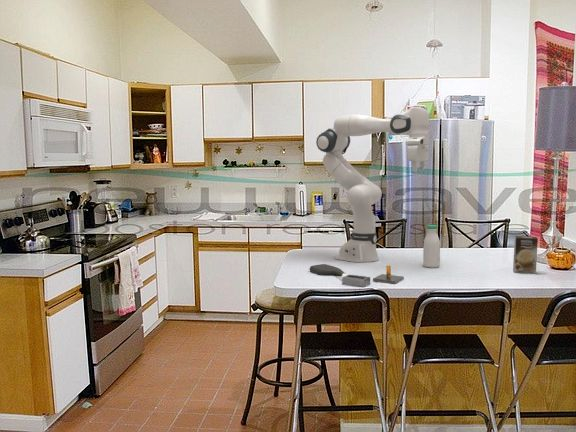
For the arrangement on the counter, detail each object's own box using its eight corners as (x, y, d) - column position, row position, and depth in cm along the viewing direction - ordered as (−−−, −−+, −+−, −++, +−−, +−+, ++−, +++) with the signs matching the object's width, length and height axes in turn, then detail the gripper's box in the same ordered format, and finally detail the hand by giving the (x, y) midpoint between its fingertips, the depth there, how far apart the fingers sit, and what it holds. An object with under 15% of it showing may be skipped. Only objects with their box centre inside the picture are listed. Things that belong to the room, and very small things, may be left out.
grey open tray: (342, 284, 215) (342, 277, 215) (348, 281, 220) (348, 274, 220) (364, 287, 210) (364, 279, 210) (370, 284, 215) (370, 276, 215)
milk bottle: (440, 268, 244) (441, 226, 242) (423, 267, 245) (424, 226, 243) (439, 265, 251) (439, 224, 249) (422, 264, 253) (423, 224, 251)
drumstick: (326, 269, 247) (359, 279, 226) (307, 272, 241) (339, 283, 220) (326, 263, 246) (359, 273, 226) (307, 266, 241) (339, 276, 220)
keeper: (372, 281, 220) (373, 265, 219) (382, 276, 228) (382, 261, 227) (395, 284, 214) (395, 268, 214) (403, 279, 223) (404, 263, 222)
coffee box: (514, 273, 232) (515, 237, 230) (512, 270, 238) (514, 235, 236) (536, 274, 229) (537, 238, 227) (534, 271, 235) (536, 236, 233)
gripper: (419, 141, 251) (418, 170, 252) (404, 140, 234) (404, 171, 235) (432, 141, 248) (431, 170, 249) (418, 140, 230) (418, 171, 232)
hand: (418, 170), depth 242 cm, fingers open, 8 cm apart
